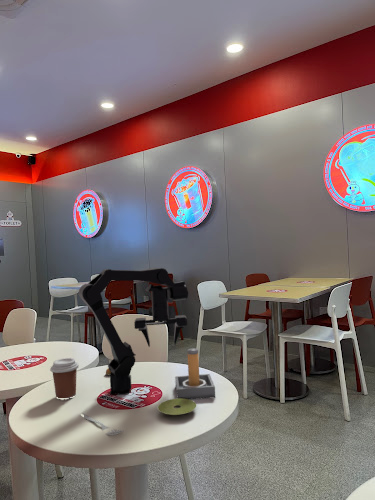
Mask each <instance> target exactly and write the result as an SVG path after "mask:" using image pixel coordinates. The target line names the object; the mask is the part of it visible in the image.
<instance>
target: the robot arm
mask: <svg viewBox="0 0 375 500" xmlns="http://www.w3.org/2000/svg"><path fill="white" fill-rule="evenodd" d="M112 281H119V282H120V281H122V282H123V281H124V282H125V281H126V282H130V281H131V282H132V281H133V282H135V281H137V282H147V283H149V284H148V286H147V287H146V288H145V291H146V292H151V307H148V316H149V317H152V319H147V318H146V317H136V318H135V320H134V324H133V325H134V329H135V330H137V329H138V330H137V331H138V332H141V333H142V335H143V337H144V339H145V341H146V343H147V345H148V347H149V348H150V346H151V344H150V343H151V340H150V337H149V329H148V326H155V325H156V326H158V325H168V324H169V325H170V324H171V325H172V324H174V336H173V345H174V346H176V344H177V341H178V337H179V334H180V332H181V330H182V329H185V326H188V318H187V316H186V315H185V314H181V315H175V316H174V317H173V318H170V317H169V302H168V301H169V300H170V302H176V301H184V300H187V299H188V296H189V291H188V287H187V285H186V282H185V281H177V282H176V281H175V282H174V281H173V280H172V279H171V278H170V276H169V272H168V270H167V269H166V268H162V267H151V268H145V269H141V270H140V269H139V270H135V269H134V270H133V269H110V268H104V269H102V271H101V272H100V273H98V275H97V276H95V277H94V278H93V279H91V280H90V281H89V282H88V283H85V284H82V285H81V286H80V287H79V290H78V296H79V298H80V299H81V300H82V301H83V303H84V304H85V305H86V307H88V309H89V310H90V311H91V312H92V315H94V318H95V320H96V322H97V324H98V325H99V326H100V329H101V330H102V333H103V334H104V336H105V338H106V339H107V342H108V344H109V345H110V349H111V354H112V360H111V361H110V362H109V364H108V365H107V367H108V368H109V370H110V371H111V373H110V375H109V383H110V391H109V395H112V396H113V395H122V394H130V392H131V389H132V375H131V371H132V369H133V367H134V365H136V364H135V363H136V357H135V356H136V354H135V353H134V351H133V348H132V346H131V344H129V342H127V341H124V342H123V341H122V339H121V337H120V335H119V333H118V331H117V329H116V328H115V326H114V324H113V321H112V319H111V318H110V316H109V314H108V313H107V310H106V308H105V307H104V301H103V296H102V294H101V293H103V292H104V290H105V289H106V288H107V287H108V285H110V284H111V282H112ZM153 284H157V285H153ZM163 286H165V287H163ZM168 299H169V300H168ZM108 368H107V369H108Z"/></svg>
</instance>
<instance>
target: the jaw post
mask: <svg viewBox="0 0 375 500" xmlns="http://www.w3.org/2000/svg"><path fill="white" fill-rule="evenodd" d="M186 352H187V367H188V368H187V371H188V373H187V374H188V375H187V376H189V386H200V379H199V375H200V366H199V365H200V363H199V362H200V361H199V349H198V348H193V347H192V348H188V349H187V351H186Z"/></svg>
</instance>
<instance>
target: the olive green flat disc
mask: <svg viewBox="0 0 375 500" xmlns="http://www.w3.org/2000/svg"><path fill="white" fill-rule="evenodd" d="M157 406H158V407H157V409H158V411H159V412H160V413H163V414H165V415H171V416H177V415H185V414H187V413H188V414H189V413H191V412H193V411H194V410H195V409H196V408H197V403H196V401H194V400H193V399H190V400H189V399H182V398H179V399H177V398H171V399H167V400H164V401H162V402H160V403H159V405H157Z"/></svg>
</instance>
